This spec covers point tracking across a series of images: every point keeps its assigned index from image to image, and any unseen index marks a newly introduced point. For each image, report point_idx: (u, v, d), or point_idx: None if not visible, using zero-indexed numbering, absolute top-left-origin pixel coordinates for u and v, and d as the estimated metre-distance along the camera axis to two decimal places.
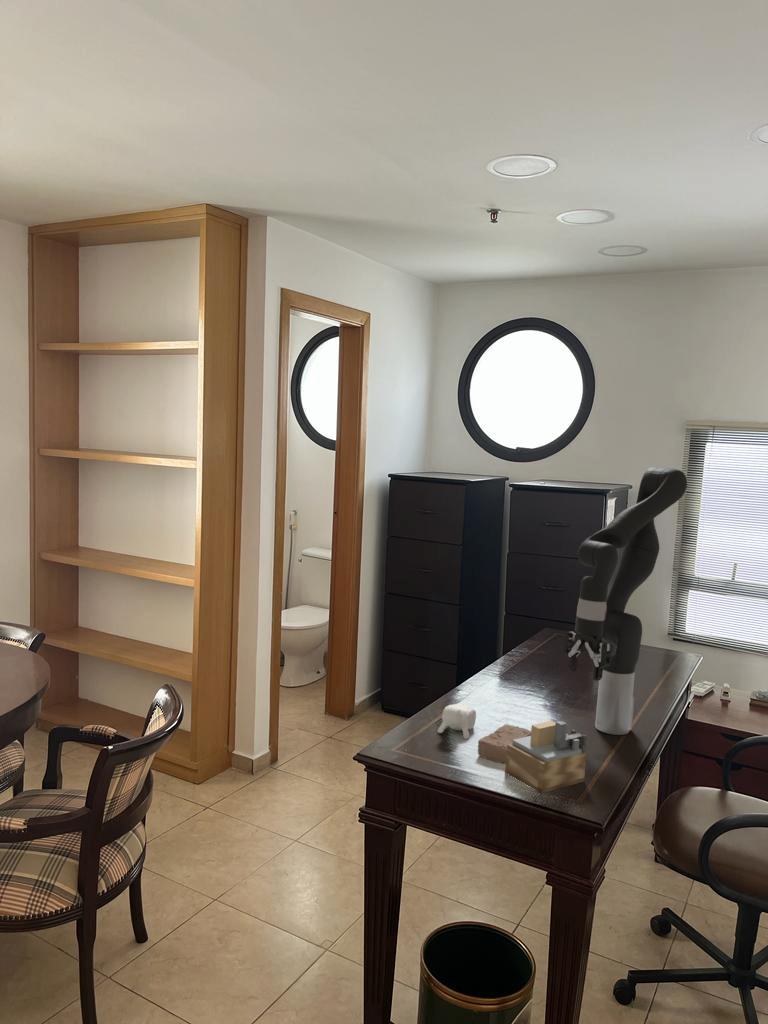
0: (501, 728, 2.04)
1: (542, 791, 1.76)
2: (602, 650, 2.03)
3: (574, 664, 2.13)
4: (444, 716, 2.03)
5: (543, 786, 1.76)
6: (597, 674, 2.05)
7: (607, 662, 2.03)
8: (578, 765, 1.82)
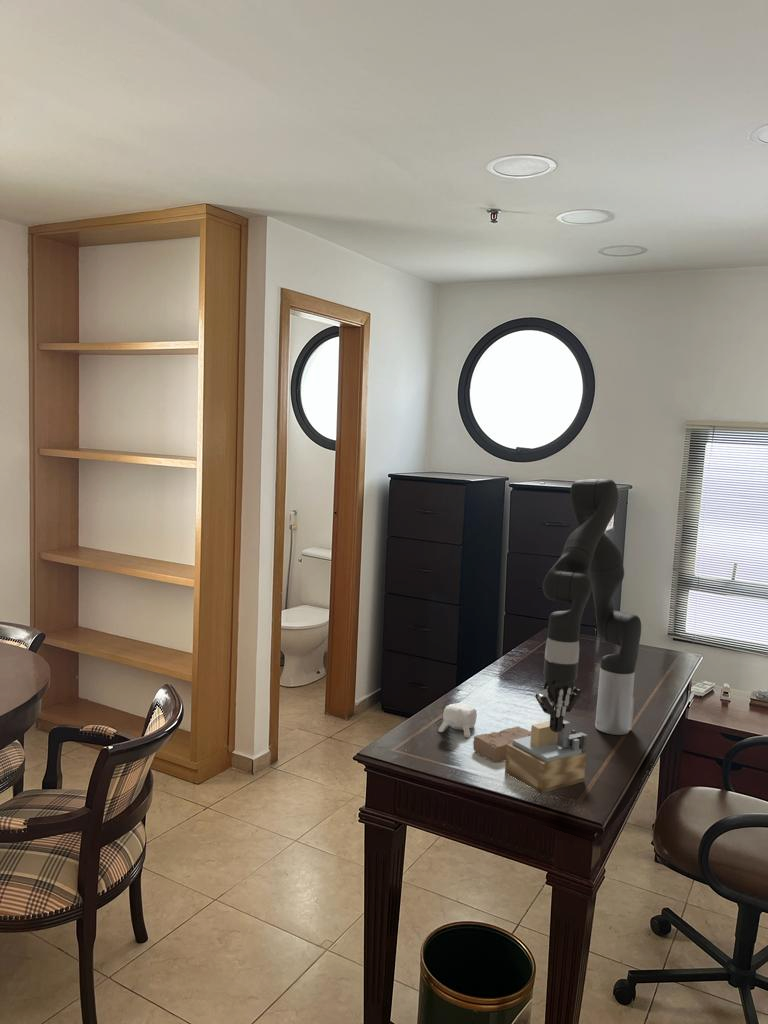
0: (509, 729, 2.04)
1: (542, 791, 1.76)
2: (576, 696, 1.81)
3: None
4: (445, 715, 2.04)
5: (543, 786, 1.76)
6: (561, 723, 1.80)
7: None
8: (578, 765, 1.82)
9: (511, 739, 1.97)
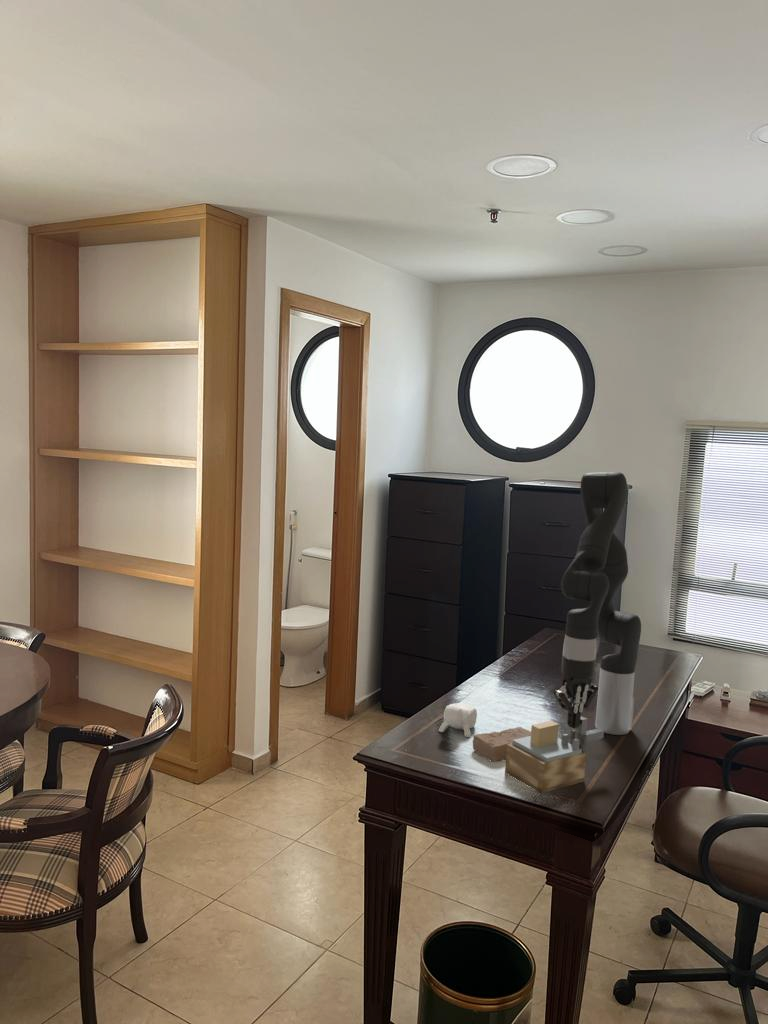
0: (510, 729, 2.04)
1: (542, 791, 1.76)
2: (593, 692, 1.84)
3: None
4: (446, 715, 2.04)
5: (543, 786, 1.76)
6: None
7: None
8: (578, 765, 1.82)
9: (511, 739, 1.97)
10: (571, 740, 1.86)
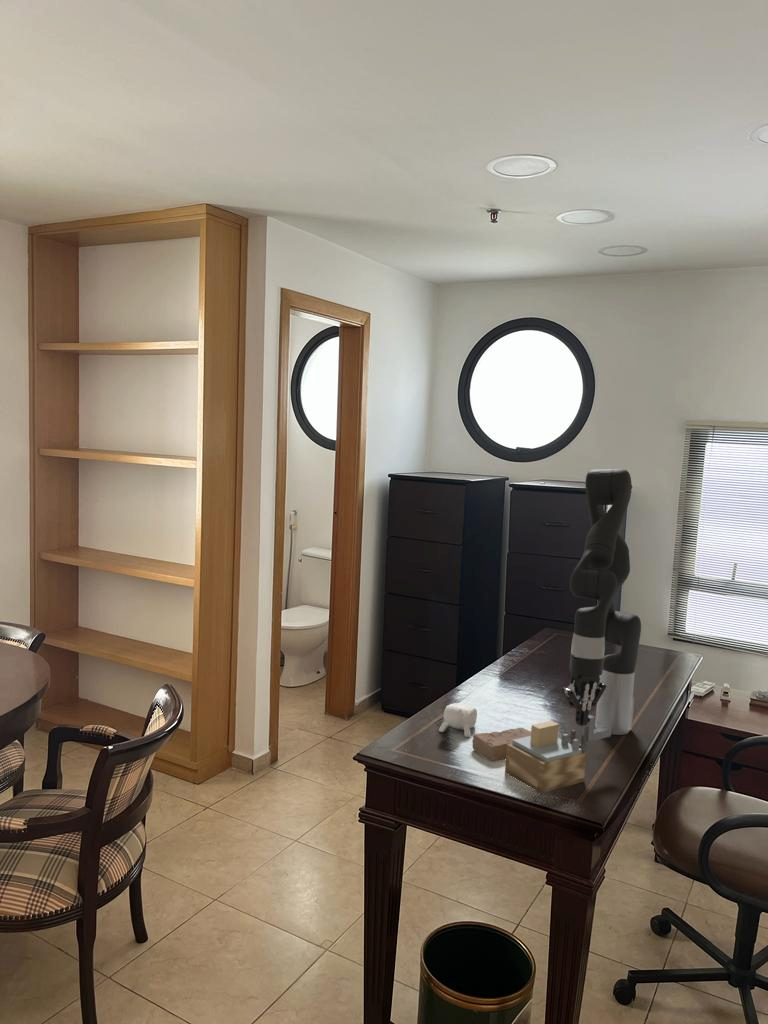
0: (512, 729, 2.04)
1: (542, 791, 1.76)
2: (601, 690, 1.86)
3: None
4: (446, 715, 2.04)
5: (543, 786, 1.76)
6: None
7: None
8: (578, 765, 1.82)
9: (510, 739, 1.97)
10: (571, 740, 1.86)
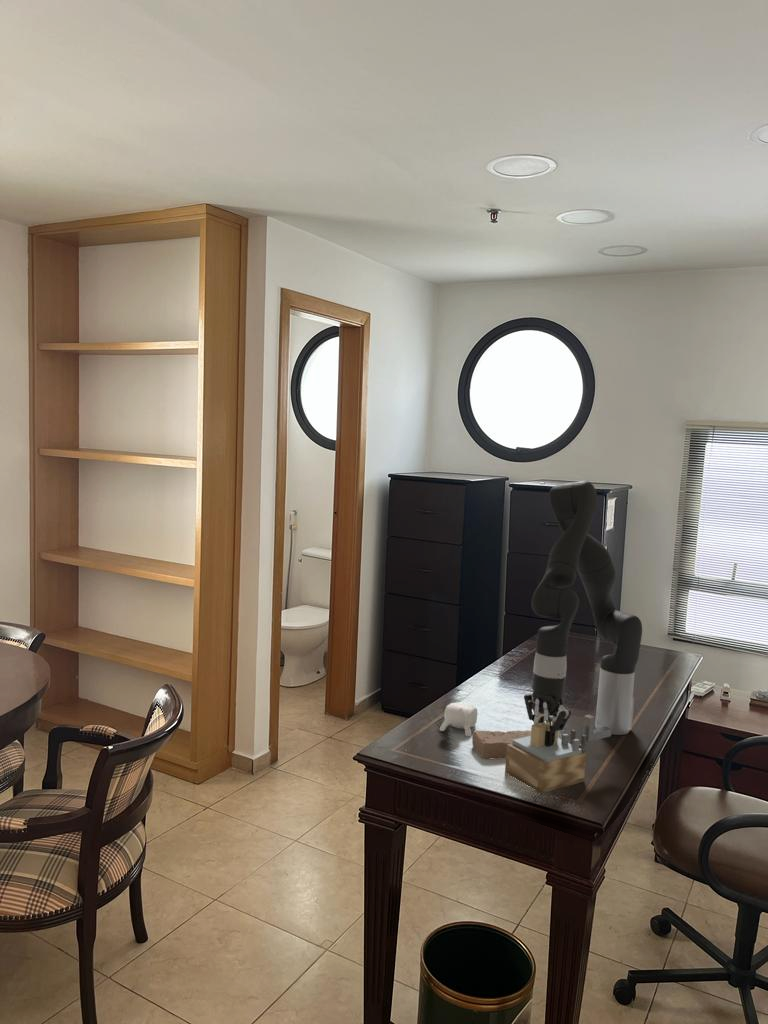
0: (518, 731, 2.03)
1: (542, 791, 1.76)
2: None
3: None
4: (446, 714, 2.05)
5: (543, 786, 1.76)
6: None
7: None
8: (578, 765, 1.82)
9: (509, 739, 1.97)
10: (571, 740, 1.86)
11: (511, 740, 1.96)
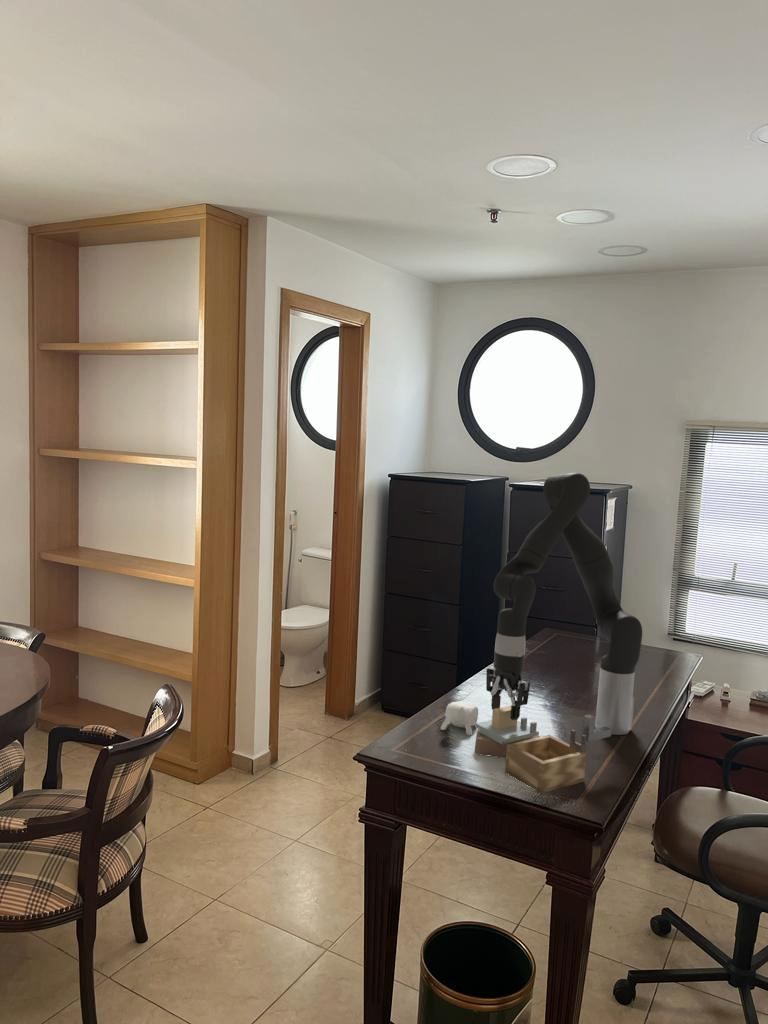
0: None
1: (542, 791, 1.76)
2: None
3: None
4: (447, 713, 2.05)
5: (543, 786, 1.76)
6: None
7: None
8: (578, 765, 1.82)
9: None
10: (571, 740, 1.86)
11: None
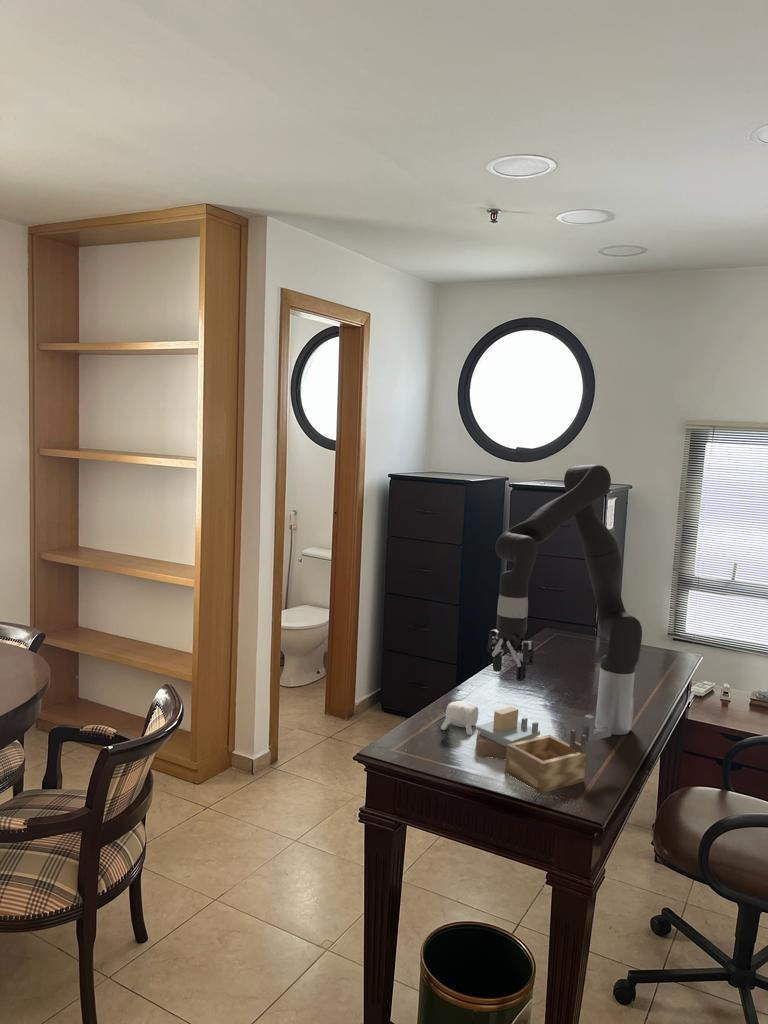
0: None
1: (542, 791, 1.76)
2: None
3: None
4: (448, 713, 2.06)
5: (543, 786, 1.76)
6: None
7: None
8: (578, 765, 1.82)
9: None
10: (571, 740, 1.86)
11: None
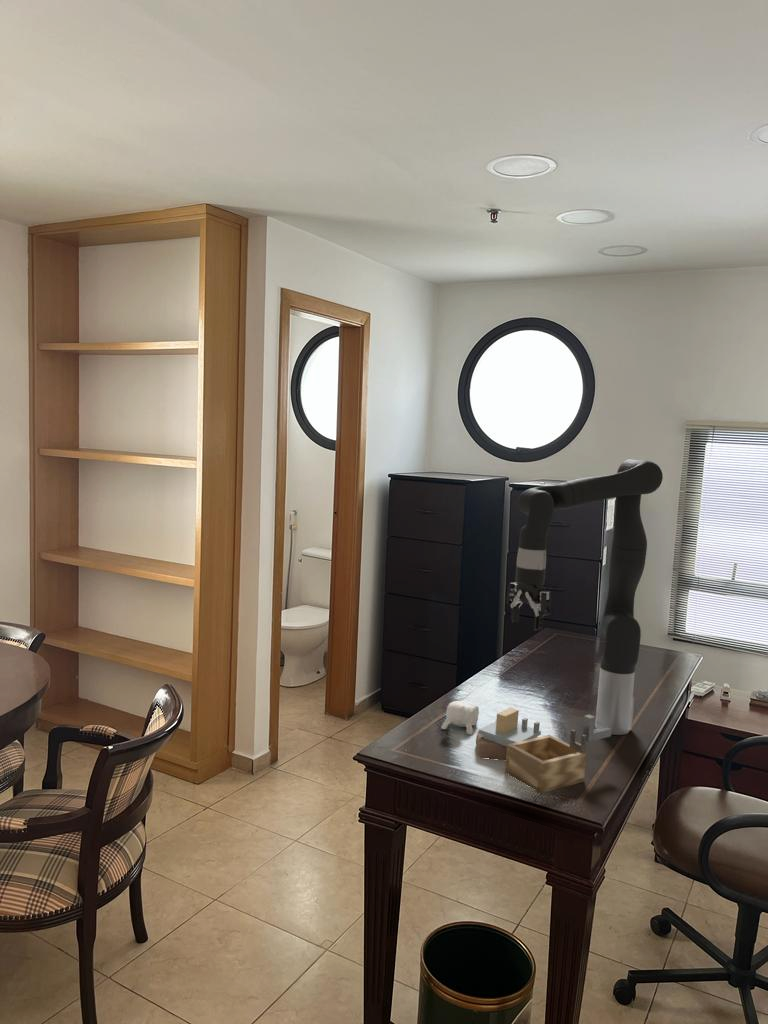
0: None
1: (542, 791, 1.76)
2: None
3: None
4: (448, 713, 2.06)
5: (543, 786, 1.76)
6: None
7: None
8: (578, 765, 1.82)
9: None
10: (571, 740, 1.86)
11: None
